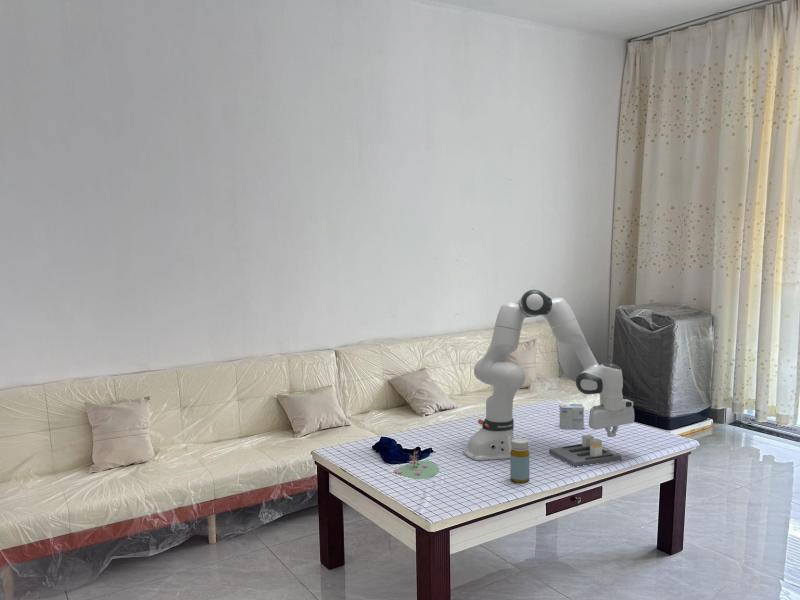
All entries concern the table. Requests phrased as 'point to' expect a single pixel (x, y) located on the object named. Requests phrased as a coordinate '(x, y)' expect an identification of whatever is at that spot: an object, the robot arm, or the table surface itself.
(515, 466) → the bottle
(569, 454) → the switch panel
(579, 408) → the light bulb box
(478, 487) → the table surface
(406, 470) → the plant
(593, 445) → the switch
